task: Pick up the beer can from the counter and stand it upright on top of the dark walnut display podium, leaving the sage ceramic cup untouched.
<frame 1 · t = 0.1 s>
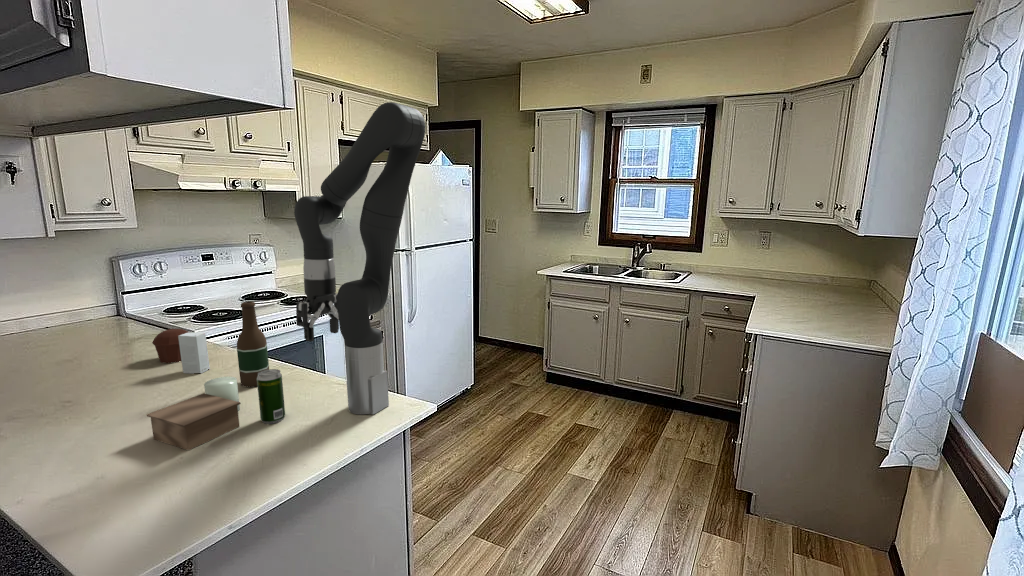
hand: (322, 336, 127), 17 cm above the counter, tool pointing down, fingers open, 8 cm apart
muffin: (176, 359, 163), on the counter
skincare box: (196, 372, 151), on the counter
podium: (197, 432, 112), on the counter
beer can: (273, 420, 118), on the counter
sage cup: (224, 411, 123), on the counter, touching podium
beer bottle: (255, 383, 142), on the counter
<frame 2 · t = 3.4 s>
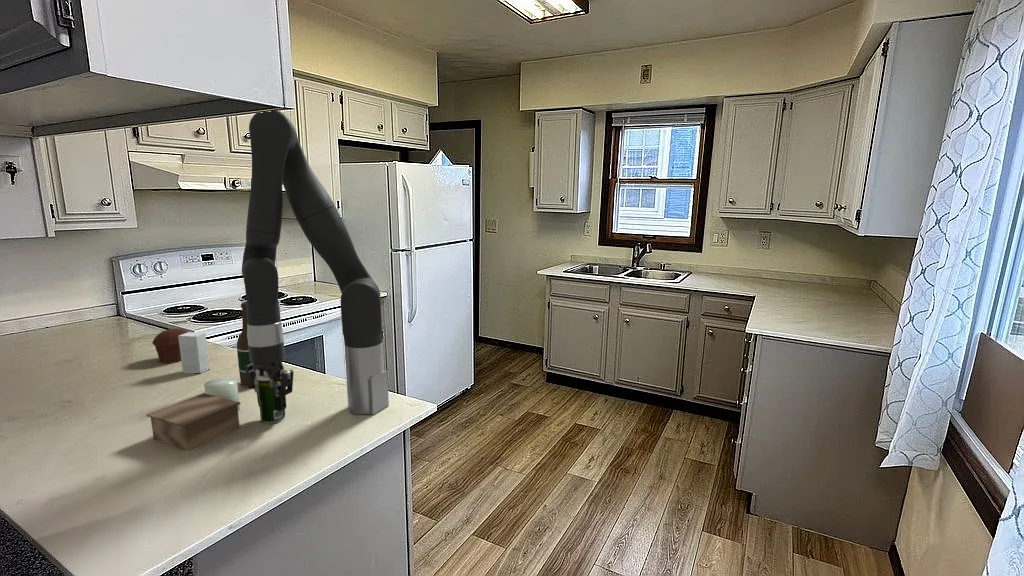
hand: (272, 407, 118), 3 cm above the counter, tool pointing down, fingers closed on beer can, 5 cm apart
beer can: (273, 420, 118), on the counter, touching gripper
everything else where it was.
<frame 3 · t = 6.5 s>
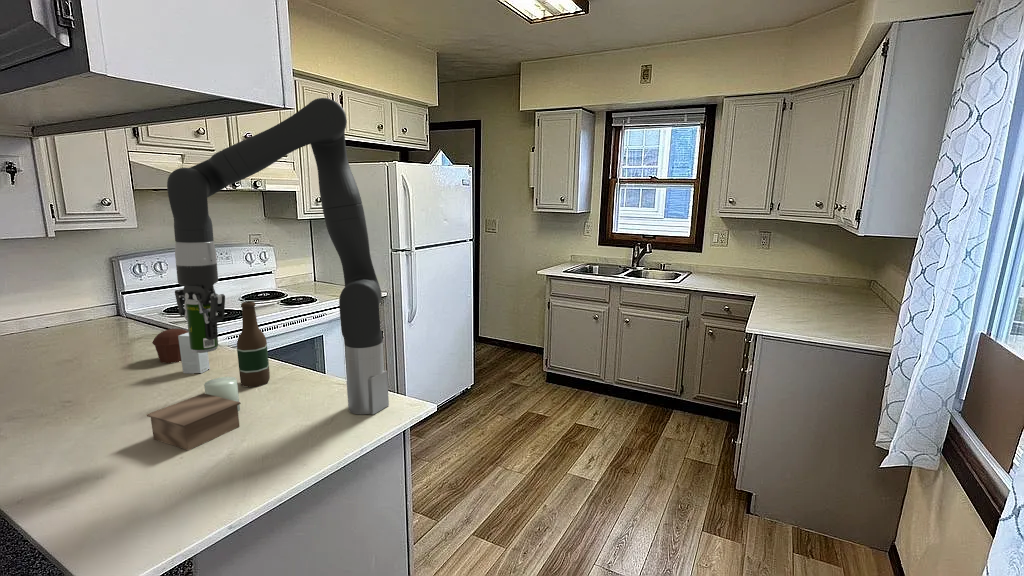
hand: (203, 336, 109), 22 cm above the counter, tool pointing down, fingers closed on beer can, 5 cm apart
beer can: (204, 350, 110), point 19 cm above the counter, touching gripper
sage cup: (224, 411, 123), on the counter
everything else where it was.
when the fingers open (11 cm above the counter, at t = 9.7 s): beer can drops 2 cm, resting on podium.
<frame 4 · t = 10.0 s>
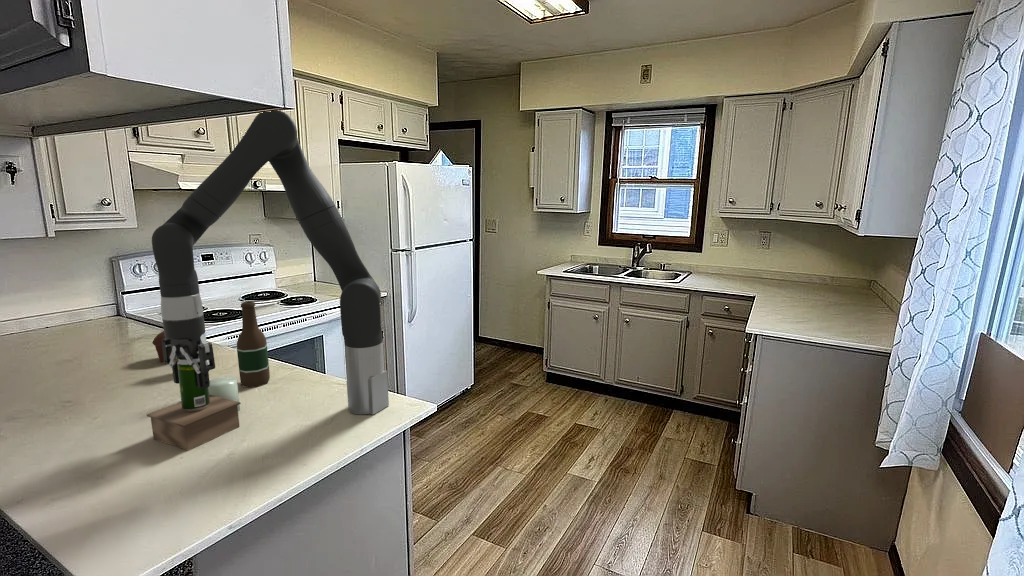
hand: (191, 385, 110), 12 cm above the counter, tool pointing down, fingers open, 8 cm apart
beer can: (196, 408, 111), point 6 cm above the counter, touching podium
everything else where it was.
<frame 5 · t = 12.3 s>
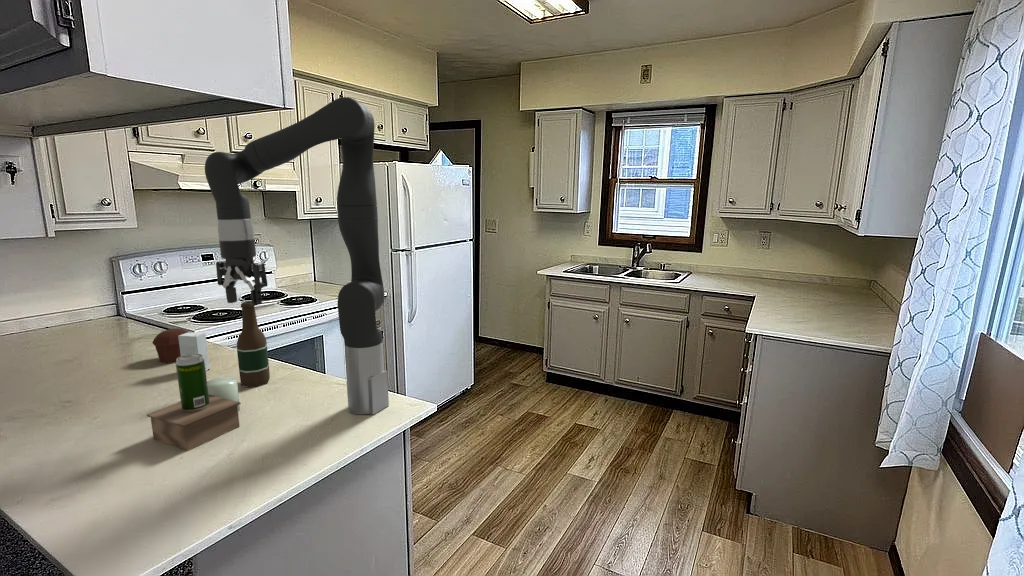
hand: (244, 303, 121), 27 cm above the counter, tool pointing down, fingers open, 8 cm apart
nothing on the counter moved.
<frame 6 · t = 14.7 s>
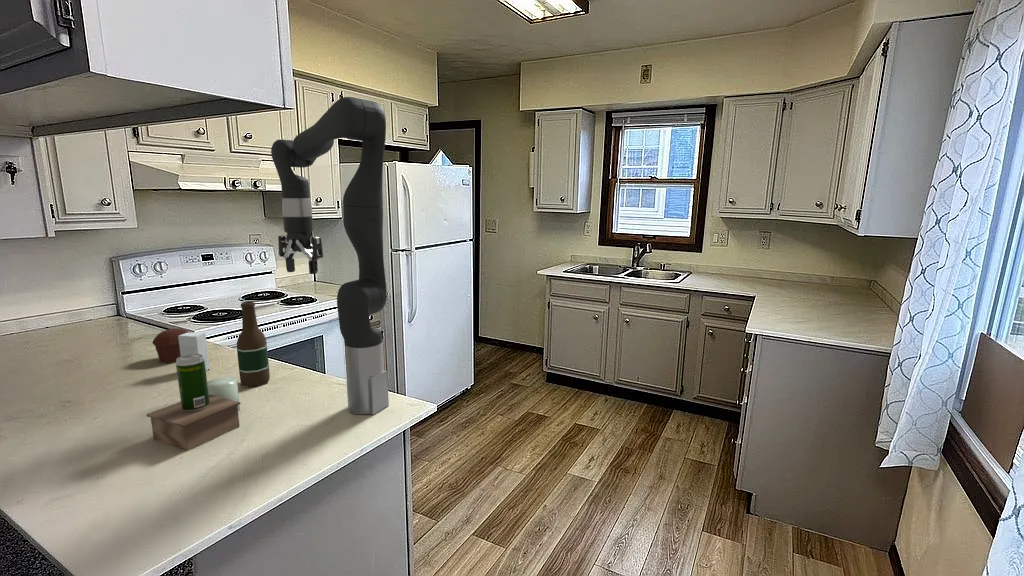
hand: (302, 272, 138), 32 cm above the counter, tool pointing down, fingers open, 8 cm apart
nothing on the counter moved.
at the end: beer can inside the target area on the podium (0.3 cm from its centre), point 5.8 cm above the podium's base; beer can tilted 0°; the gripper is holding nothing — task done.
